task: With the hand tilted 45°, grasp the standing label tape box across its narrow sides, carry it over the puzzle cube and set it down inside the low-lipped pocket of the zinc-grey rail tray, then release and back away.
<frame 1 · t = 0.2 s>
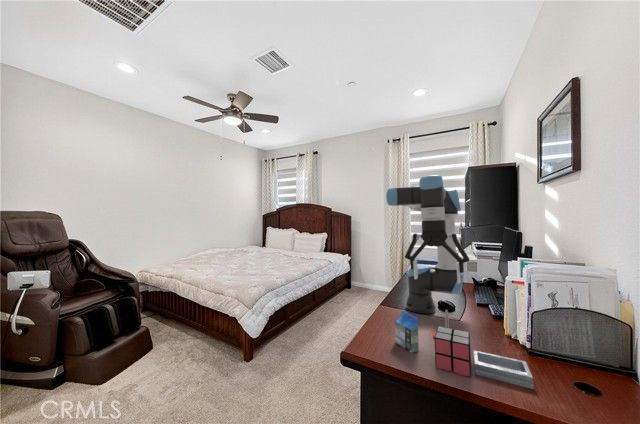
hand: (436, 280, 83), 28 cm above the table, tool pointing down, fingers open, 13 cm apart
rail tray: (500, 372, 76), on the table
puzzle cube: (453, 365, 80), on the table
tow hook: (444, 339, 98), on the table
label tape box: (406, 347, 92), on the table
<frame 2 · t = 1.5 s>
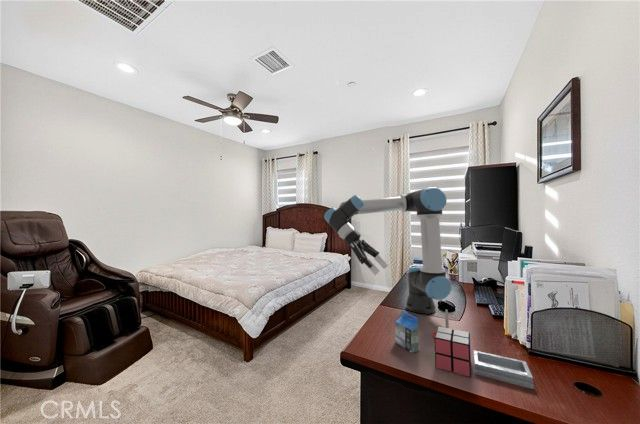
hand: (382, 270, 104), 27 cm above the table, tool tilted 45°, fingers open, 13 cm apart
nothing on the table moved.
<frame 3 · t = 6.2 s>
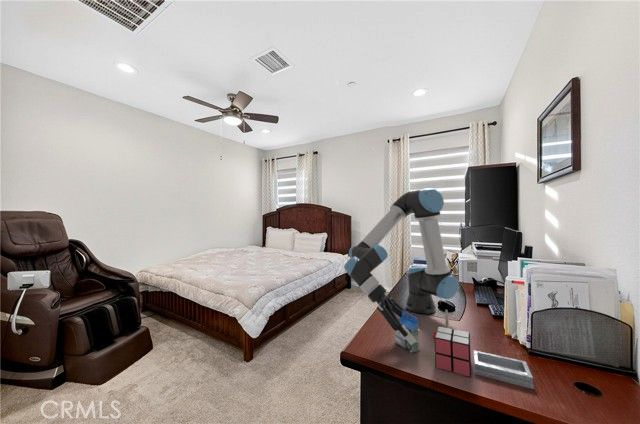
hand: (415, 337, 91), 4 cm above the table, tool tilted 45°, fingers closed on label tape box, 8 cm apart
label tape box: (406, 347, 92), on the table, touching gripper
everything else where it was.
when the fingers open (7 cm above the table, at t = 12.9 s): label tape box drops 1 cm, point 1 cm above the table.
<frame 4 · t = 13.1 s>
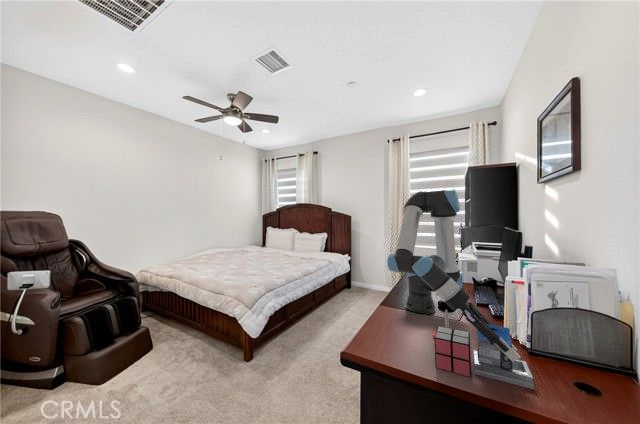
hand: (514, 355, 74), 6 cm above the table, tool tilted 45°, fingers open, 4 cm apart
label tape box: (494, 365, 77), point 1 cm above the table, touching gripper
everything else where it was.
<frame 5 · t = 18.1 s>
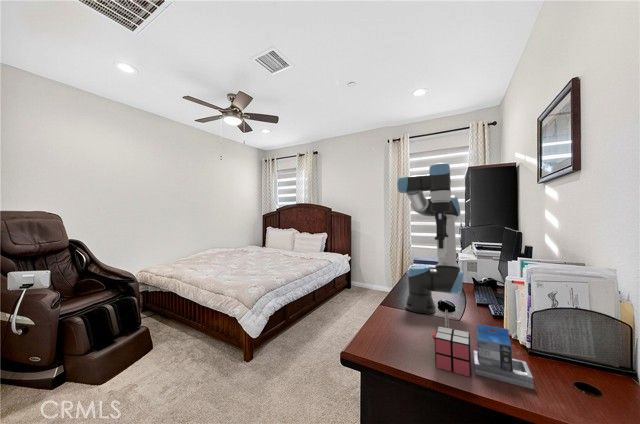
hand: (442, 254, 96), 35 cm above the table, tool pointing down, fingers open, 13 cm apart
label tape box: (494, 367, 77), point 1 cm above the table, touching rail tray
everything else where it was.
at the end: label tape box inside the target area on the rail tray (1.5 cm from its centre), point 0.8 cm above the rail tray's base; label tape box tilted 0°; the gripper is holding nothing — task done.
